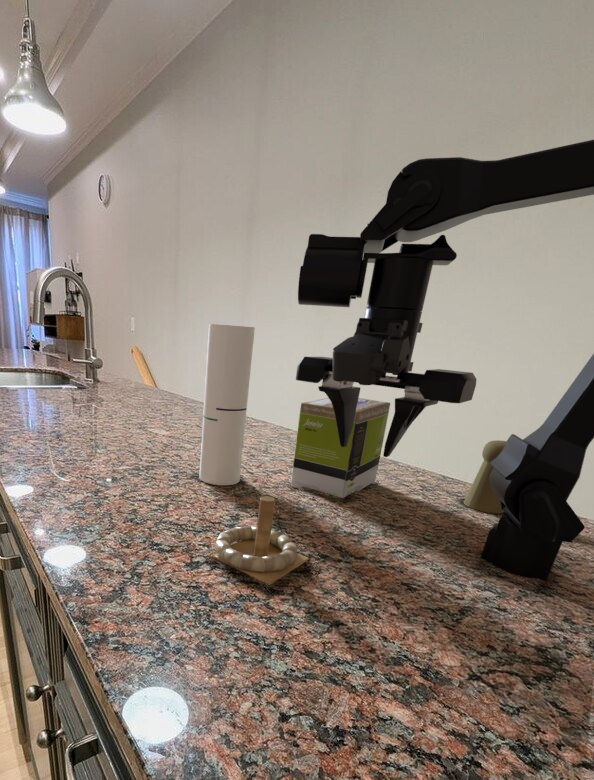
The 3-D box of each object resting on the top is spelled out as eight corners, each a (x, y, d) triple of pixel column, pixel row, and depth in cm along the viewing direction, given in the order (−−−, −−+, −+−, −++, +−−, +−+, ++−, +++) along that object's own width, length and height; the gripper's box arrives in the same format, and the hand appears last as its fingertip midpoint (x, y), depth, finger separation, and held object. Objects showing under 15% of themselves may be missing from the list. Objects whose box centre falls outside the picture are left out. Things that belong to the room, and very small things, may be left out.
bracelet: (310, 555, 52) (312, 543, 51) (265, 584, 45) (266, 570, 44) (247, 529, 57) (248, 518, 56) (198, 552, 51) (199, 539, 50)
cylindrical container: (236, 487, 75) (252, 327, 65) (195, 482, 76) (204, 323, 67) (242, 475, 81) (257, 327, 72) (203, 470, 83) (213, 324, 73)
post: (307, 565, 51) (319, 500, 48) (268, 591, 46) (278, 520, 43) (252, 541, 56) (259, 481, 53) (210, 562, 51) (215, 496, 47)
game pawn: (493, 501, 77) (514, 439, 73) (512, 515, 72) (535, 448, 67) (457, 498, 78) (476, 436, 73) (473, 511, 72) (494, 444, 68)
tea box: (326, 470, 88) (339, 393, 82) (376, 483, 82) (394, 402, 77) (287, 486, 77) (300, 399, 72) (342, 503, 72) (360, 410, 66)
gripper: (279, 301, 48) (262, 444, 54) (469, 306, 37) (422, 485, 43) (328, 309, 56) (309, 433, 62) (497, 315, 45) (453, 465, 51)
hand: (364, 451), depth 54 cm, fingers open, 5 cm apart
